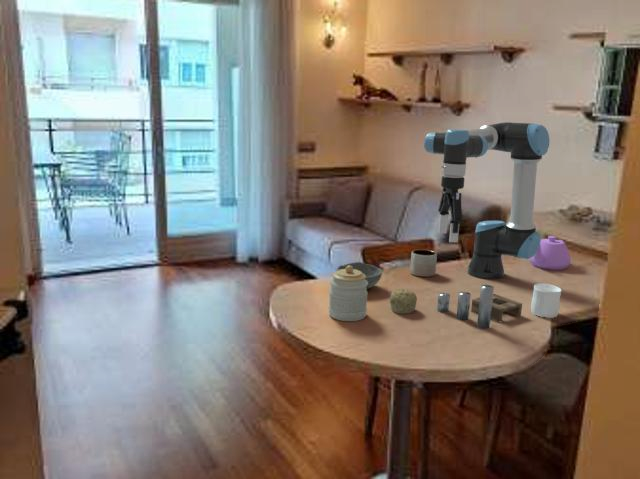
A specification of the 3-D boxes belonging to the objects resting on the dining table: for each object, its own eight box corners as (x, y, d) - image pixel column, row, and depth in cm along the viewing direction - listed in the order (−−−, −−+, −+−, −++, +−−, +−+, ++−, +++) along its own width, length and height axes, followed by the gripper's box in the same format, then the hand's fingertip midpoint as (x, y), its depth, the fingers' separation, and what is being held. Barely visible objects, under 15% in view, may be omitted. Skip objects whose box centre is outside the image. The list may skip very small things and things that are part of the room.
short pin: (442, 307, 212) (443, 291, 211) (450, 311, 209) (452, 295, 208) (434, 309, 210) (436, 293, 209) (443, 313, 207) (444, 297, 205)
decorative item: (392, 315, 214) (379, 296, 209) (411, 297, 216) (399, 278, 211) (406, 325, 206) (392, 305, 201) (426, 306, 207) (413, 286, 203)
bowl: (348, 297, 220) (349, 277, 218) (328, 283, 236) (329, 264, 234) (390, 292, 227) (391, 272, 225) (368, 279, 243) (369, 260, 241)
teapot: (545, 257, 285) (548, 230, 282) (579, 266, 272) (583, 237, 269) (514, 265, 270) (517, 236, 267) (549, 275, 257) (553, 244, 254)
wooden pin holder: (493, 305, 216) (494, 293, 215) (520, 315, 207) (522, 303, 206) (471, 311, 209) (472, 299, 208) (498, 322, 200) (500, 309, 199)
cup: (543, 320, 203) (547, 293, 201) (523, 310, 212) (526, 284, 210) (564, 316, 207) (568, 290, 205) (543, 307, 216) (546, 282, 214)
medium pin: (461, 315, 205) (464, 290, 203) (470, 319, 202) (473, 294, 200) (453, 317, 203) (456, 292, 201) (462, 321, 200) (465, 296, 198)
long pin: (482, 323, 198) (486, 284, 195) (492, 327, 195) (496, 287, 192) (474, 326, 196) (478, 286, 193) (484, 330, 193) (488, 289, 189)
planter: (435, 278, 247) (437, 256, 244) (409, 276, 249) (410, 254, 246) (435, 271, 257) (437, 250, 255) (410, 269, 259) (411, 248, 257)
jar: (356, 325, 194) (358, 273, 190) (321, 317, 200) (323, 266, 196) (372, 313, 205) (375, 264, 201) (339, 305, 211) (341, 258, 207)
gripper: (433, 171, 211) (428, 229, 216) (452, 180, 187) (446, 245, 192) (453, 172, 211) (448, 230, 216) (476, 181, 187) (469, 246, 192)
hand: (447, 237), depth 204 cm, fingers open, 13 cm apart
